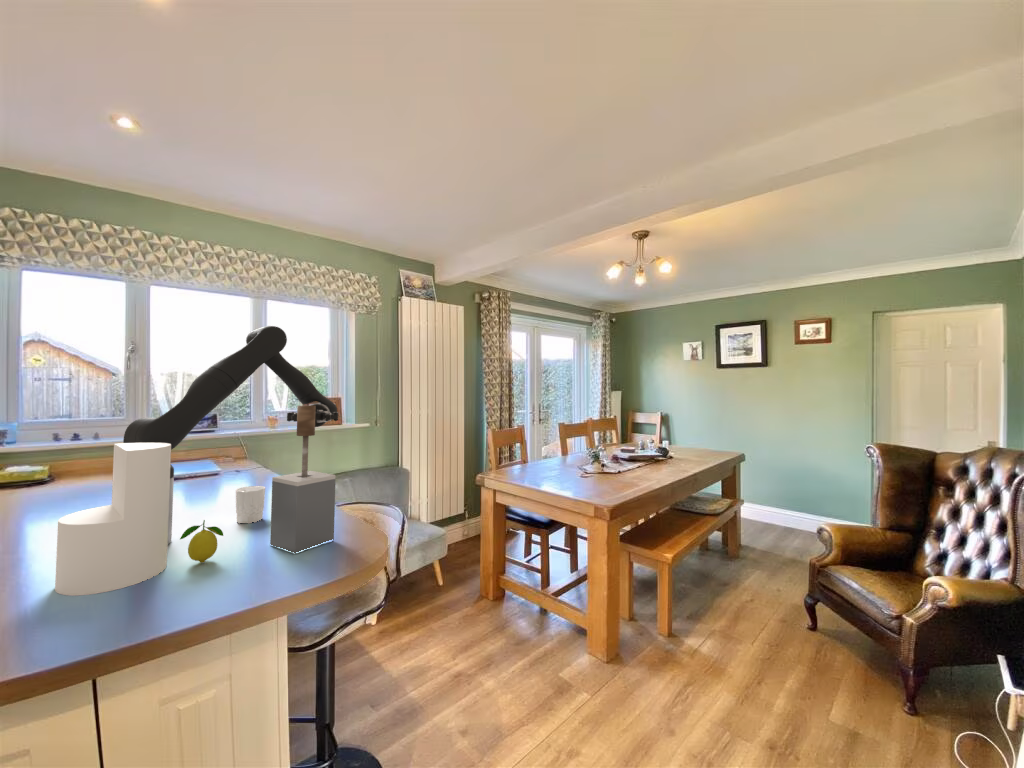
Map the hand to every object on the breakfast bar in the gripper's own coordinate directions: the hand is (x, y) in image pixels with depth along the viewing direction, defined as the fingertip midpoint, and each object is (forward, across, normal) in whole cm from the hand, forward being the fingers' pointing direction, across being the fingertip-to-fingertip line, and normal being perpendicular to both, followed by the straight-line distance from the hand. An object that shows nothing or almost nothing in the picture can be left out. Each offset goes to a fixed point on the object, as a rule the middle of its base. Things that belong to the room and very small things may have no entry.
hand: (311, 417), depth 120 cm
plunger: (+11, 0, +23) cm, 26 cm away
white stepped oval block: (+20, -36, +33) cm, 53 cm away
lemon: (+18, -20, +33) cm, 43 cm away
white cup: (-15, -18, +33) cm, 41 cm away
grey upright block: (+11, 0, +33) cm, 35 cm away
